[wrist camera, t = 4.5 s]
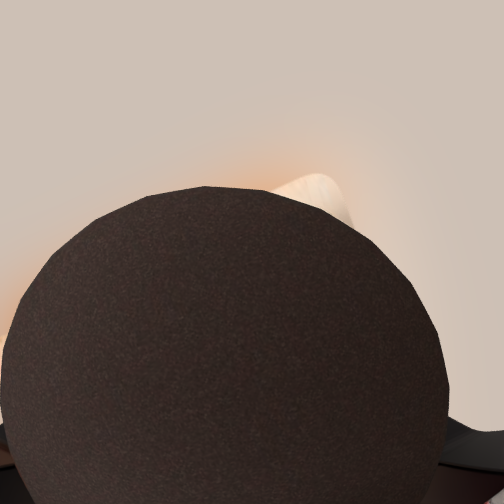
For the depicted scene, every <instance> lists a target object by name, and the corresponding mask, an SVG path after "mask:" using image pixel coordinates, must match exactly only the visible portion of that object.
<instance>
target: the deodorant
mask: <svg viewBox="0 0 504 504" xmlns="http://www.w3.org/2000/svg"><path fill="white" fill-rule="evenodd" d="M0 406H1V413H2V418H3V424H4V429H5V433H6V438H7V442H8V446H9V450H10V454H11V457H12V459H13V461H14V463H15V466H16V468H17V470H18V472H19V474H20V476H21V478H22V480H23V482H24V484H25V486H26V488H27V490H28V491H29V493H30V495H31V497H32V499H33V500H34V502H35V504H420V502H421V501H422V499H423V498H424V496H425V495H426V493H427V491H428V489H429V486H430V484H431V481H432V479H433V476H434V474H435V471H436V469H437V466H438V463H439V460H440V457H441V454H442V452H443V448H444V445H445V442H446V433H447V423H448V409H449V382H448V377H447V372H446V367H445V362H444V358H443V353H442V349H441V345H440V341H439V337H438V333H437V331H436V329H435V327H434V325H433V323H432V321H431V319H430V317H429V315H428V313H427V311H426V309H425V307H424V306H423V304H422V302H421V300H420V298H419V297H418V295H417V293H416V291H415V289H414V287H413V285H412V284H411V282H410V281H409V280H408V279H407V278H406V277H405V276H404V275H403V274H402V272H401V271H400V270H399V269H398V268H397V267H396V266H395V265H394V264H393V263H392V262H391V261H390V260H389V258H388V257H387V256H386V255H385V254H384V253H383V252H382V251H381V250H380V249H379V248H378V247H377V246H376V245H375V244H374V243H373V242H372V241H371V240H369V239H368V238H366V237H365V236H363V235H362V234H360V233H359V232H357V231H356V230H354V229H352V228H351V227H349V226H348V225H346V224H345V223H343V222H341V221H340V220H338V219H336V218H335V217H333V216H332V215H330V214H328V213H327V212H325V211H323V210H322V209H319V208H316V207H313V206H310V205H307V204H304V203H301V202H298V201H295V200H292V199H289V198H286V197H283V196H280V195H277V194H274V193H270V192H267V191H263V190H253V189H240V188H226V187H209V186H202V187H197V188H191V189H184V190H178V191H173V192H167V193H162V194H157V195H151V196H146V197H144V198H142V199H139V200H138V201H135V202H133V203H131V204H128V205H126V206H124V207H122V208H120V209H117V210H115V211H113V212H111V213H109V214H106V215H105V216H102V217H100V218H98V219H96V220H95V221H93V222H92V223H90V224H89V225H88V226H87V227H85V228H84V229H83V230H82V231H80V232H79V233H78V234H77V235H75V236H74V237H73V238H72V239H70V241H68V242H67V243H66V244H65V245H63V246H62V247H61V248H60V249H59V250H57V251H56V252H55V253H54V254H53V255H52V256H51V257H50V259H49V260H48V261H47V263H46V264H45V265H44V266H43V268H42V269H41V271H40V272H39V273H38V275H37V276H36V278H35V279H34V281H33V282H32V283H31V285H30V286H29V288H28V289H27V291H26V292H25V294H24V295H23V297H22V298H21V300H20V303H19V305H18V308H17V310H16V313H15V316H14V319H13V322H12V325H11V327H10V330H9V333H8V336H7V339H6V342H5V345H4V348H3V356H2V367H1V382H0Z"/></svg>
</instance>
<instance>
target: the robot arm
mask: <svg viewBox="0 0 504 504" xmlns="http://www.w3.org/2000/svg"><path fill="white" fill-rule="evenodd" d="M0 504H35V502H34V500H33V499H32V497H31V495H30V493H29V491H28V490H27V488H26V486H25V484H24V482H23V480H22V478H21V476H20V474H19V472H18V470H17V468H16V466H15V463H14V461H13V459H12V457H11V454H10V450H9V446H8V442H7V438H6V433H5V429H4V424H3V423H2V424H1V425H0ZM420 504H504V430H502V431H490V432H483V431H477V430H474V429H471V428H469V427H467V426H465V425H463V424H462V423H459V422H457V421H456V420H454V419H452V418H450V417H449V416H448V423H447V433H446V442H445V445H444V448H443V452H442V454H441V457H440V460H439V463H438V466H437V469H436V471H435V474H434V476H433V479H432V481H431V484H430V486H429V489H428V491H427V493H426V495H425V496H424V498H423V499H422V501H421V502H420Z"/></svg>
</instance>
